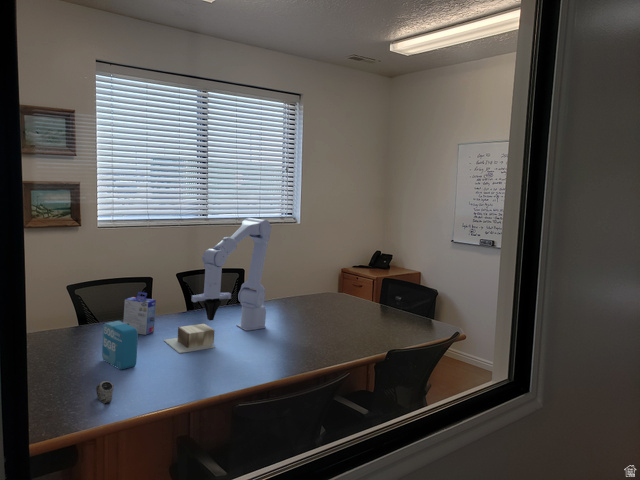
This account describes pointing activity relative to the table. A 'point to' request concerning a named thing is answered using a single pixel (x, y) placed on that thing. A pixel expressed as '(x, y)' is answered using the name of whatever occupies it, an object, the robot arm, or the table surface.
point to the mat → (182, 348)
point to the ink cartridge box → (140, 313)
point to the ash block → (195, 335)
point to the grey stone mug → (105, 391)
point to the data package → (119, 344)
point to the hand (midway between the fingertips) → (210, 319)
